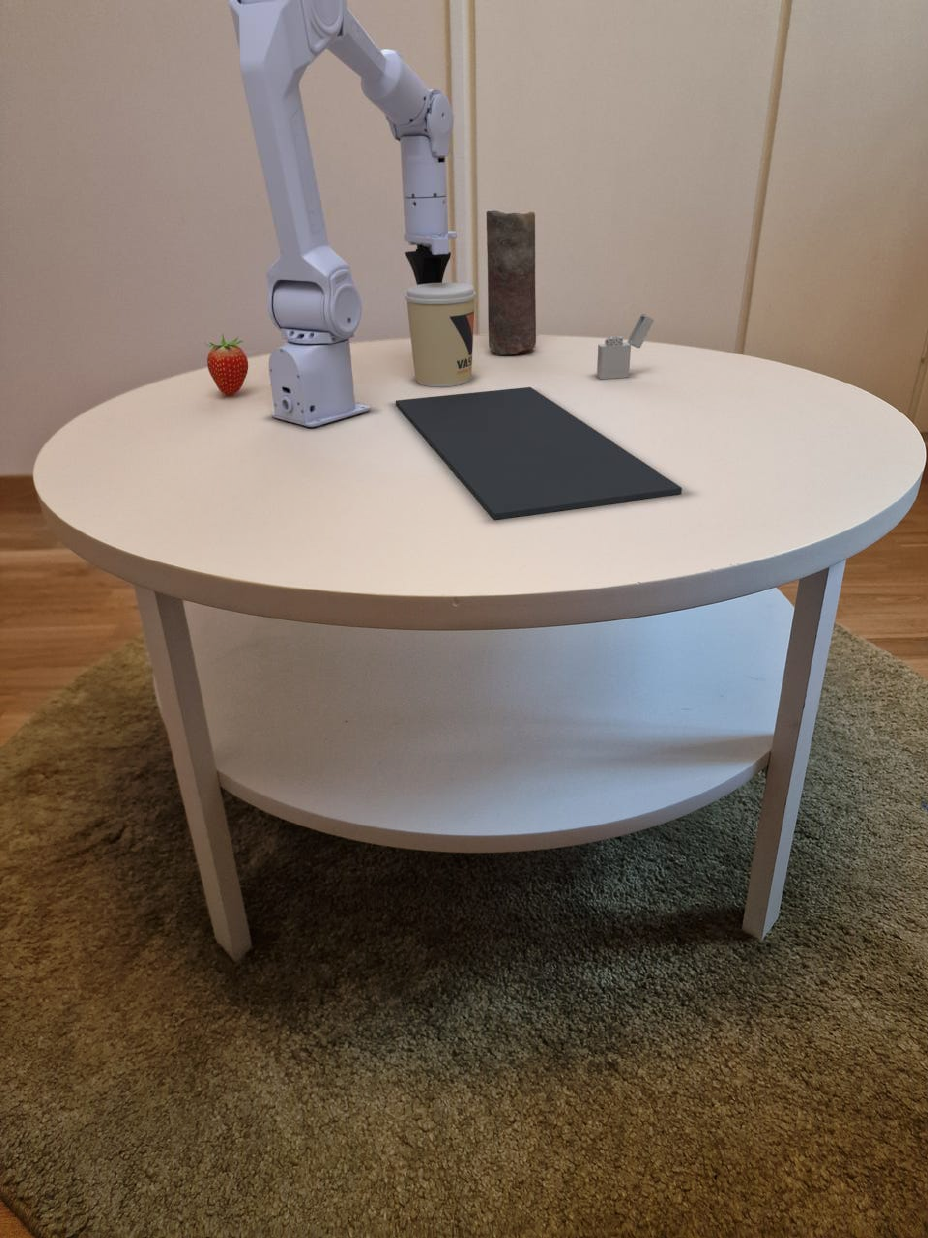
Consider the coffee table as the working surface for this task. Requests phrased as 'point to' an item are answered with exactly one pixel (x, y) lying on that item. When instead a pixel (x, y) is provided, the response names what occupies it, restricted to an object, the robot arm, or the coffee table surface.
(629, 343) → the lighter
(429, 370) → the coffee cup
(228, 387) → the fruit
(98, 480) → the coffee table surface
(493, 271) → the brown stone cylinder
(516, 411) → the mat
